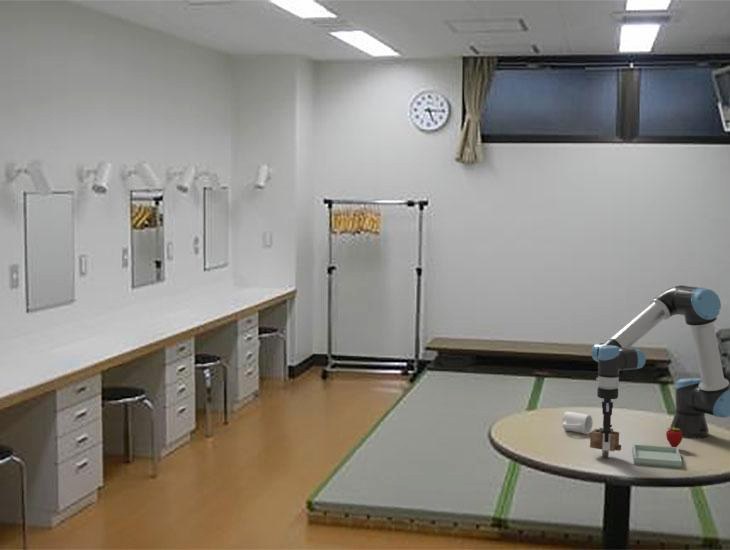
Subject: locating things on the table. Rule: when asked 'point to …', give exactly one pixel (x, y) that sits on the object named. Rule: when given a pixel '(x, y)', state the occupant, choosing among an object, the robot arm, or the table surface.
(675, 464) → the tray
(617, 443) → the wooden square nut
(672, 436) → the strawberry
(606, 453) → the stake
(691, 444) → the table surface
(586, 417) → the mug
